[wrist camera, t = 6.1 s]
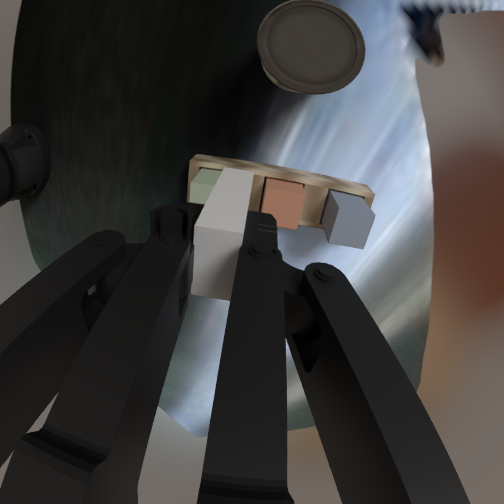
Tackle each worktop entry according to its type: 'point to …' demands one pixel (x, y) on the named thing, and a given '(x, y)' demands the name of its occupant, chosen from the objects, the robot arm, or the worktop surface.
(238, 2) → the worktop surface
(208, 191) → the sage block
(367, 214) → the slate block
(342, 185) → the socket rail
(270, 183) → the terracotta block
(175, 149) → the worktop surface
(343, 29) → the coffee can
